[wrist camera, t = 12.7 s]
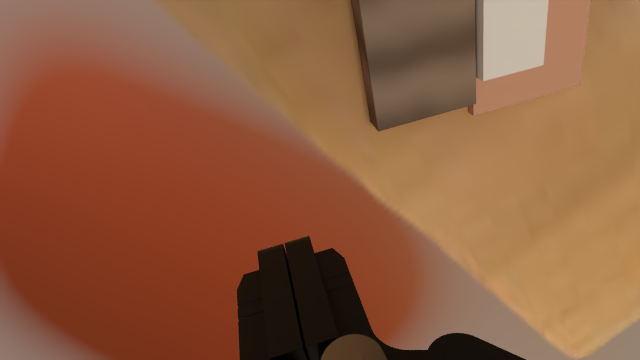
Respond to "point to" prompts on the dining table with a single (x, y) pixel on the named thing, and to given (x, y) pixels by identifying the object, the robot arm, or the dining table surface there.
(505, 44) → the cream tile
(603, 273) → the dining table surface
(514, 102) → the terracotta mat
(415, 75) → the walnut deck
